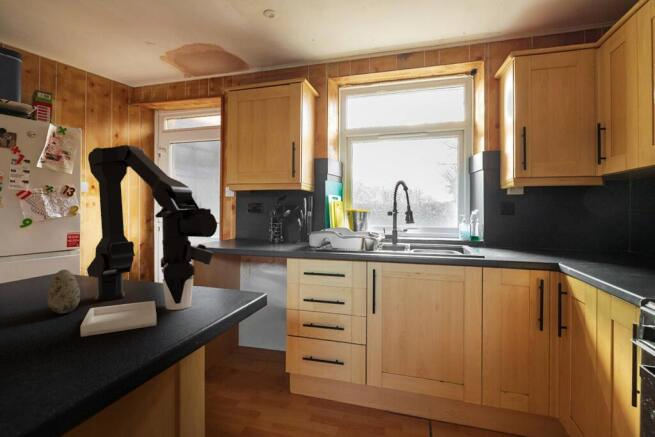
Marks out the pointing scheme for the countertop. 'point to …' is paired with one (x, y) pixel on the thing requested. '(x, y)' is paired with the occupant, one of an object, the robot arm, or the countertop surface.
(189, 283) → the white cup
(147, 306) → the tray
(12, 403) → the countertop surface
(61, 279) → the decorative egg
